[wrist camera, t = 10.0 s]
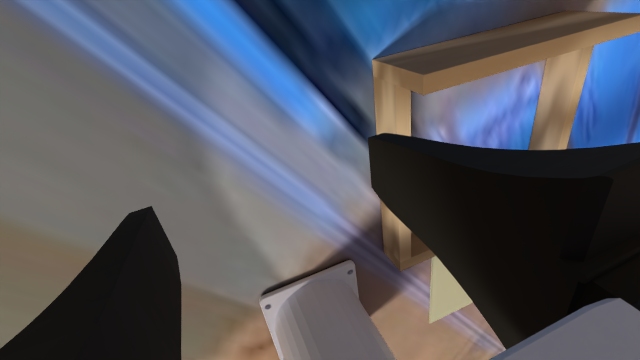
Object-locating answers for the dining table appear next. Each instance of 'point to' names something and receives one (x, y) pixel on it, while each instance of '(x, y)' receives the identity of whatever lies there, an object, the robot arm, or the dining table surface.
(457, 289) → the potting mat
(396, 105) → the cold frame
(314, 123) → the dining table surface
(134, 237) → the robot arm
